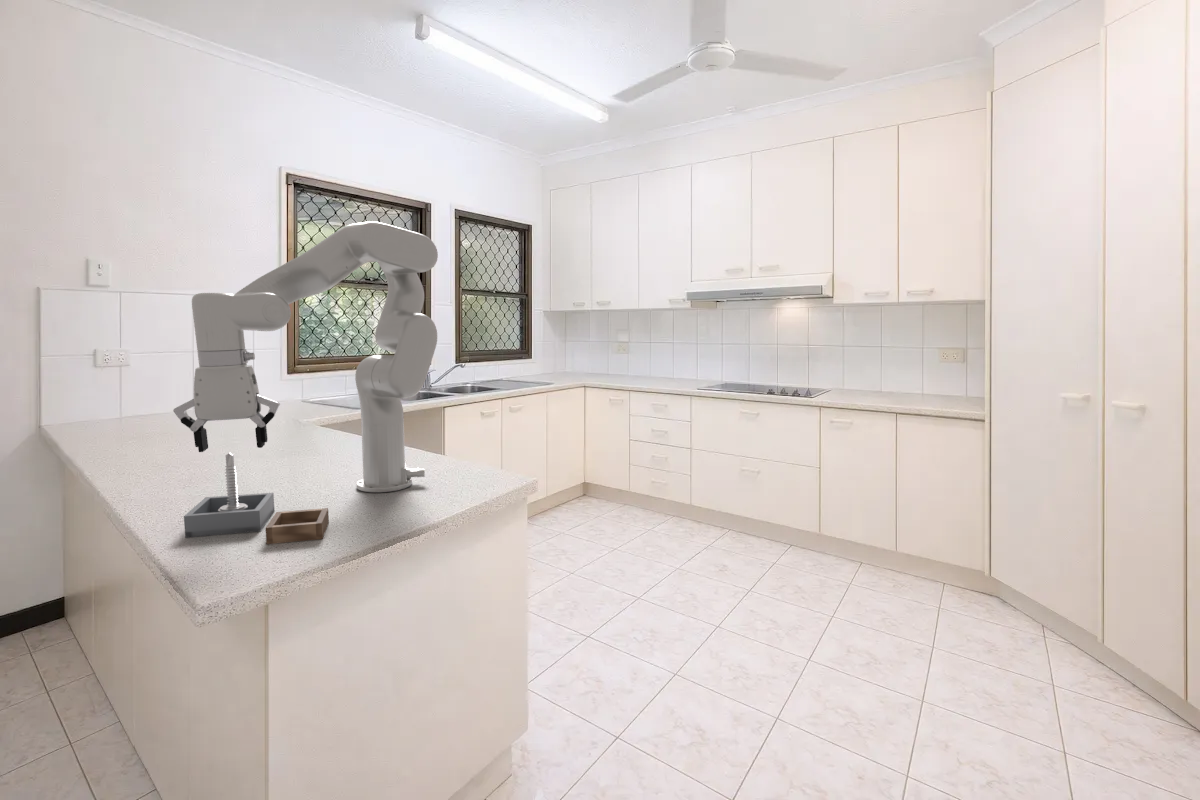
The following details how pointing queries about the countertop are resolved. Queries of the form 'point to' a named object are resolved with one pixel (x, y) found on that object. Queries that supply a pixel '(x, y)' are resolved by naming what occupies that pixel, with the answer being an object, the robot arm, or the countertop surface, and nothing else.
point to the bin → (229, 515)
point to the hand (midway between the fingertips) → (232, 448)
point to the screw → (231, 487)
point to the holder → (297, 526)
